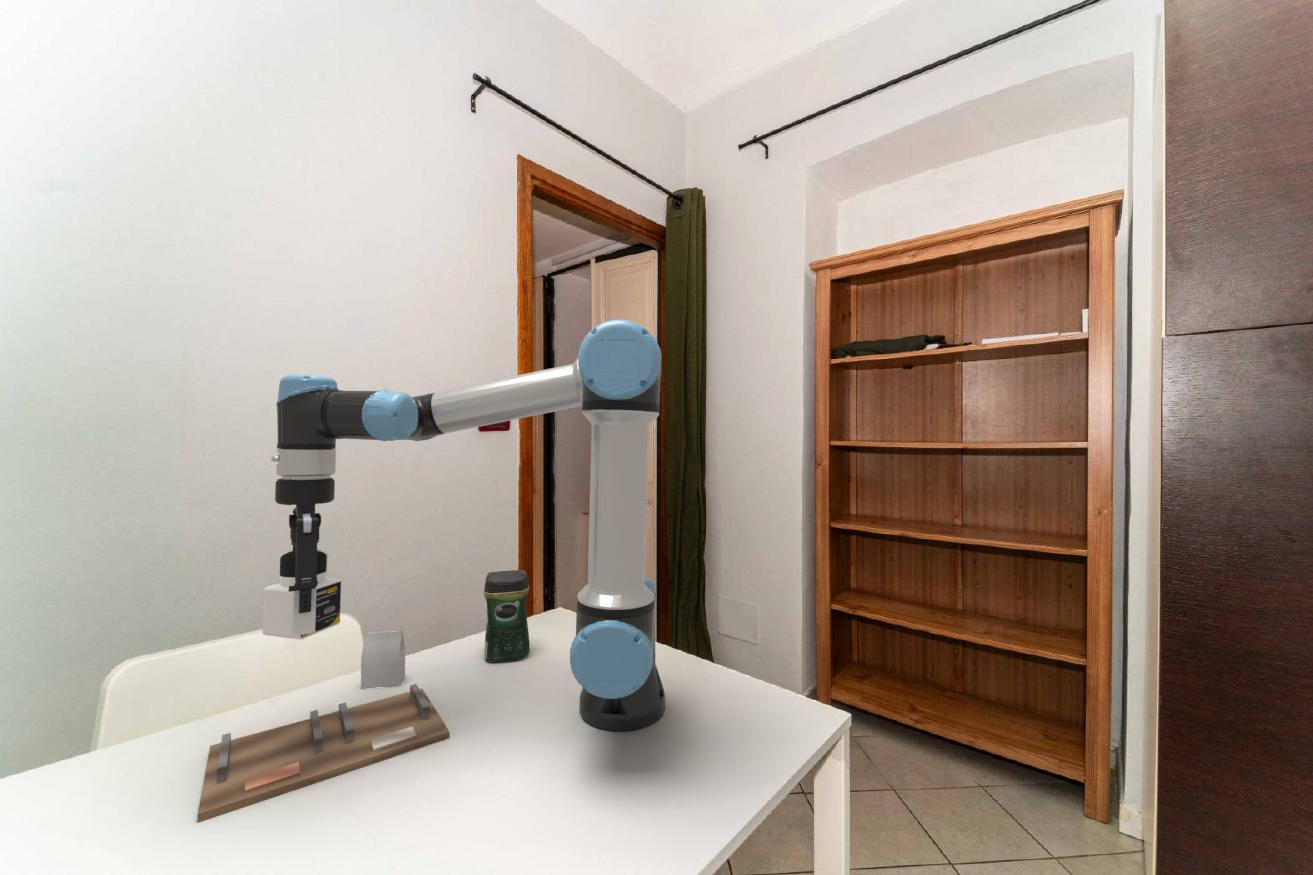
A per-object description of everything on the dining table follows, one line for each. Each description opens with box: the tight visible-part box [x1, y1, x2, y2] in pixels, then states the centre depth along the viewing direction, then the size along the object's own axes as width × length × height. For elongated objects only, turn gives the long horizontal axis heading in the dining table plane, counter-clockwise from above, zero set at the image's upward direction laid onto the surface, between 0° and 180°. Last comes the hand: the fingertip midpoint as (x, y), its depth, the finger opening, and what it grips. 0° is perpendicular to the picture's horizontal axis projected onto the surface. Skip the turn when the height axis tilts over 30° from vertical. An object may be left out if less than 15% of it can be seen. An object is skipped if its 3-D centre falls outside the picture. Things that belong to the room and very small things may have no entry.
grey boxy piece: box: [360, 630, 406, 690], centre depth 100 cm, size 4×7×10 cm, turn 99°
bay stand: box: [197, 683, 450, 823], centre depth 80 cm, size 18×30×3 cm, turn 127°
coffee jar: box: [483, 569, 531, 663], centre depth 113 cm, size 10×8×19 cm
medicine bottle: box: [262, 548, 342, 640], centre depth 79 cm, size 7×7×12 cm
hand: (302, 622), depth 79 cm, fingers closed on medicine bottle, 10 cm apart
